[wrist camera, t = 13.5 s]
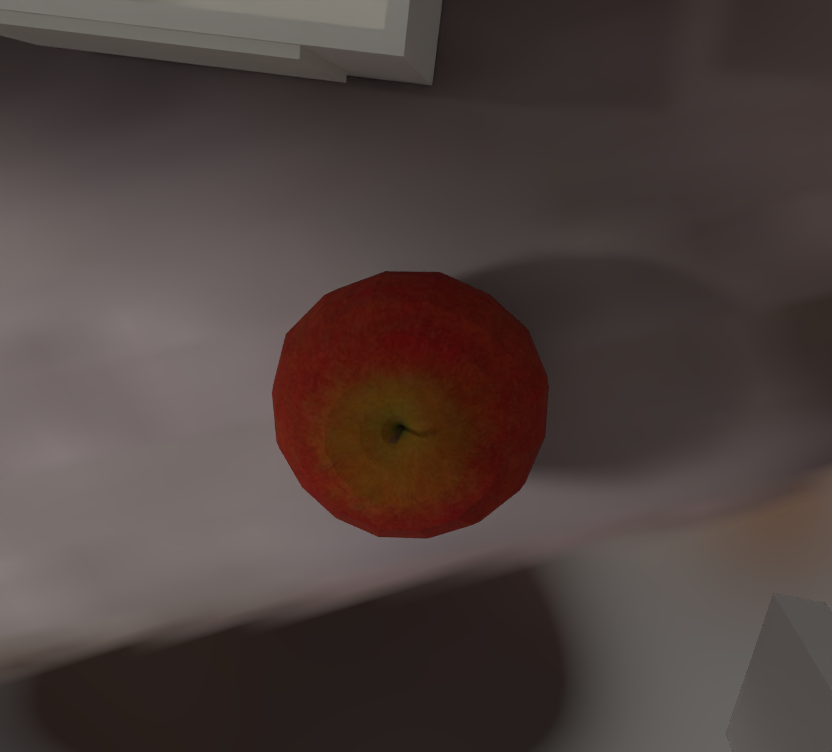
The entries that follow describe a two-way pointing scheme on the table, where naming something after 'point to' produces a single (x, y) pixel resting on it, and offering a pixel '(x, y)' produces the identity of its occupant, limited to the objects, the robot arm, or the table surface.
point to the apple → (410, 404)
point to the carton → (245, 33)
